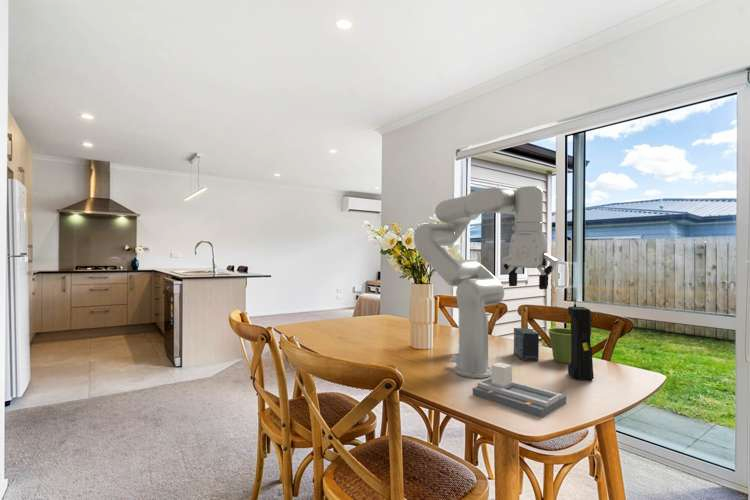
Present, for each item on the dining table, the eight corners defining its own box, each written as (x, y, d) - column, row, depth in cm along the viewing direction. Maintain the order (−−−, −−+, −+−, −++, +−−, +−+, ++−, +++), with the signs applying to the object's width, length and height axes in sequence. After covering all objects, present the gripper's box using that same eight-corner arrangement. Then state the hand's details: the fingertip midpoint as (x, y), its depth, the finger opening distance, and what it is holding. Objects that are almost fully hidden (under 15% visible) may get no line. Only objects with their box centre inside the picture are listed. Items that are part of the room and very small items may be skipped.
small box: (540, 361, 146) (540, 333, 146) (522, 361, 146) (522, 333, 146) (529, 353, 157) (529, 327, 157) (512, 353, 157) (512, 327, 157)
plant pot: (544, 362, 145) (544, 331, 145) (549, 355, 155) (549, 326, 155) (581, 367, 138) (581, 335, 138) (583, 359, 149) (583, 330, 149)
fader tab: (490, 386, 112) (490, 365, 112) (500, 382, 115) (500, 361, 115) (502, 390, 109) (502, 368, 109) (513, 385, 112) (513, 364, 112)
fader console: (472, 395, 111) (472, 384, 111) (499, 384, 120) (499, 374, 120) (541, 417, 96) (541, 404, 96) (566, 403, 105) (566, 391, 105)
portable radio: (595, 382, 123) (595, 302, 123) (574, 381, 124) (574, 301, 124) (587, 374, 130) (587, 299, 130) (567, 373, 131) (567, 299, 132)
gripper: (495, 229, 119) (494, 285, 120) (549, 227, 106) (548, 291, 106) (510, 230, 124) (509, 284, 124) (564, 228, 110) (563, 289, 110)
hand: (527, 287), depth 115 cm, fingers open, 9 cm apart
